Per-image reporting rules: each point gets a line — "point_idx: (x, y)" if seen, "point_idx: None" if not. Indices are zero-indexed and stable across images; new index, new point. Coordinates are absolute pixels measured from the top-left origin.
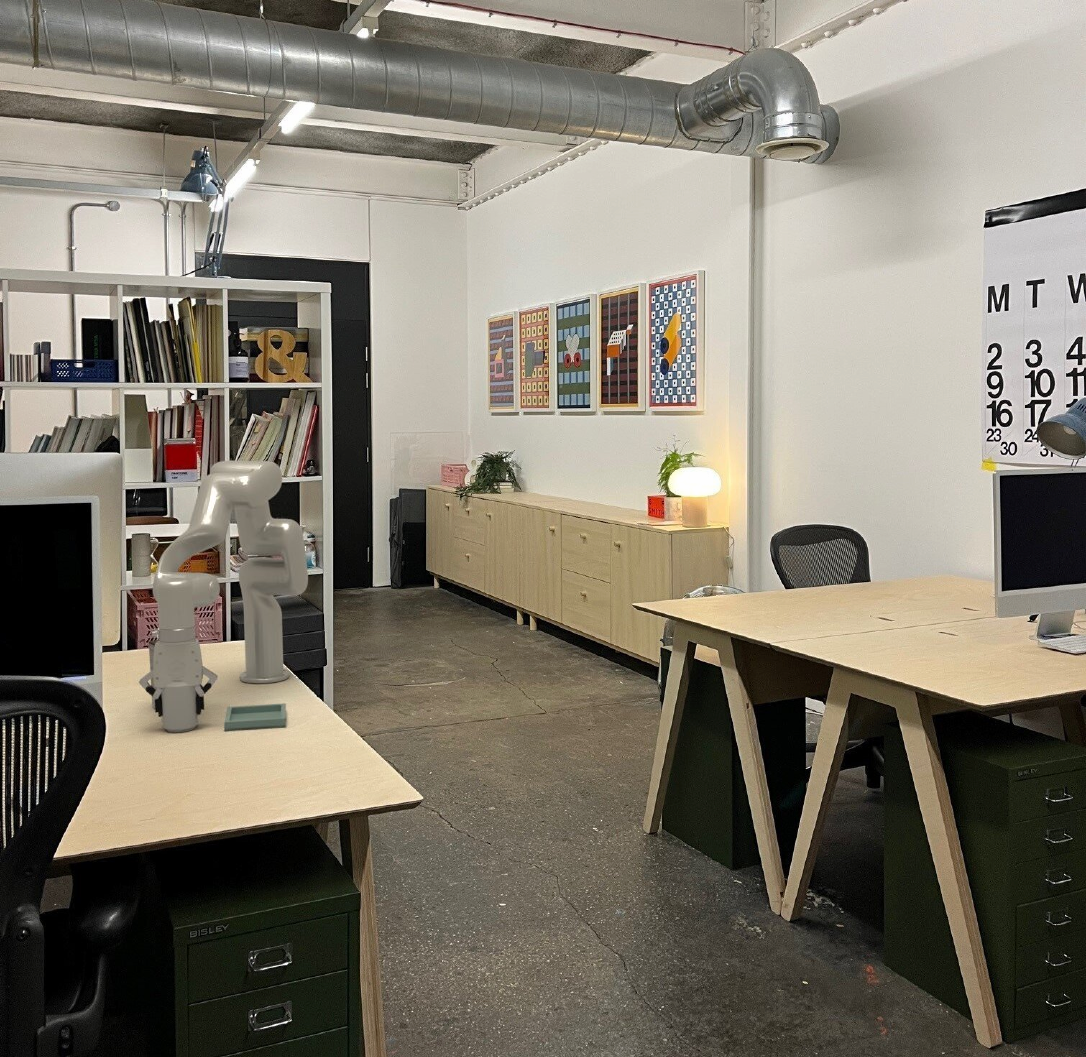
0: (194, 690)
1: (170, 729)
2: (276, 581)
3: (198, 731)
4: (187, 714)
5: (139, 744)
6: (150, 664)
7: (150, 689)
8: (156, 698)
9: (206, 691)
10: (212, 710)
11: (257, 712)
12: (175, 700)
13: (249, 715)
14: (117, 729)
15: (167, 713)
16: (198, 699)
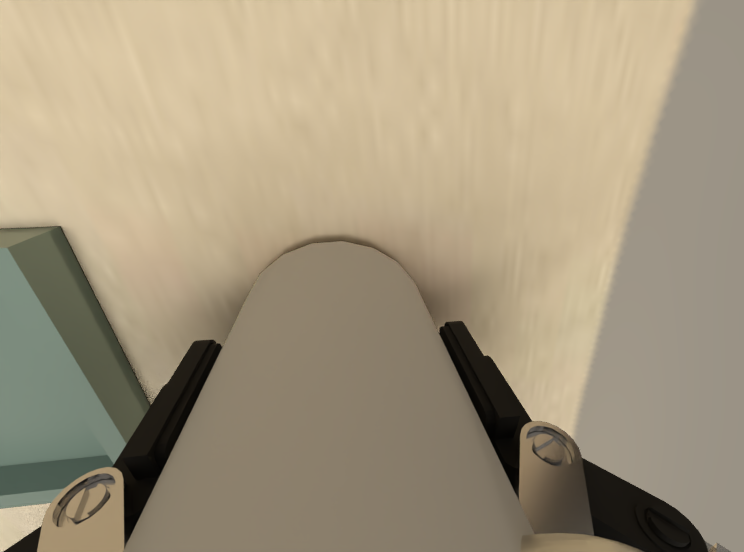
0: (130, 539)
1: (377, 251)
2: None
3: (229, 251)
4: (263, 298)
5: (543, 32)
6: None
7: (647, 530)
8: (531, 428)
9: (27, 541)
10: None
11: (24, 464)
12: (349, 364)
13: (40, 433)
14: (593, 333)
15: (409, 307)
16: (148, 432)
